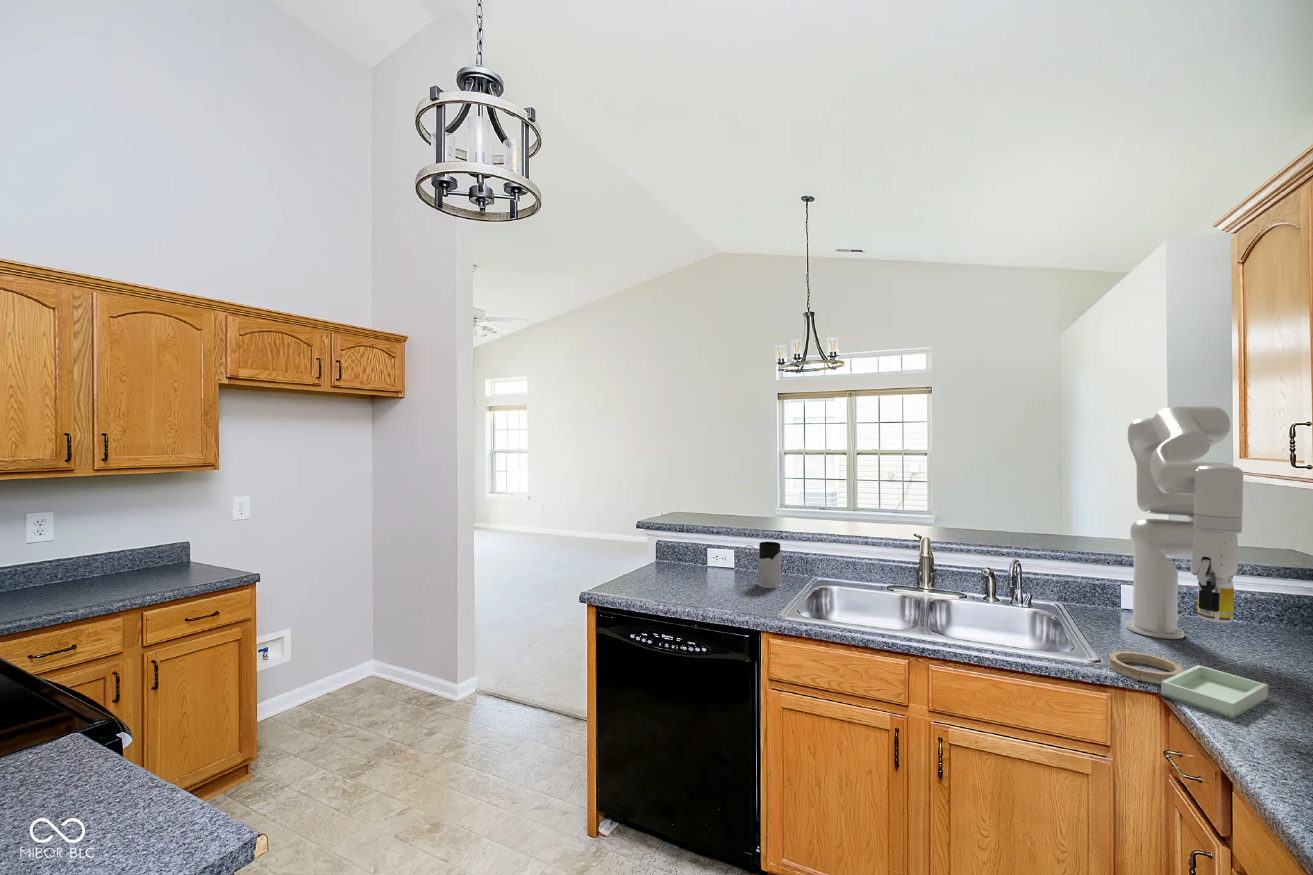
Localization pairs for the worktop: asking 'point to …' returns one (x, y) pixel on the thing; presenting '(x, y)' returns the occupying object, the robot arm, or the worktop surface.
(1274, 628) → the worktop surface
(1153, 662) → the collar
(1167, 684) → the tray
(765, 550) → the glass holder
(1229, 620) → the supplement bottle
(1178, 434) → the robot arm
